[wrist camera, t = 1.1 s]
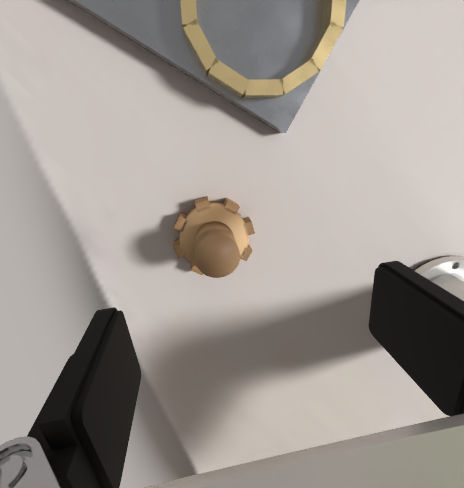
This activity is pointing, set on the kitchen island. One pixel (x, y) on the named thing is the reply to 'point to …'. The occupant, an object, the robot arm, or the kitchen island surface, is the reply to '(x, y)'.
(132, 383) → the robot arm
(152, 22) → the carrier plate
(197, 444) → the kitchen island surface
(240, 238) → the planet gear
